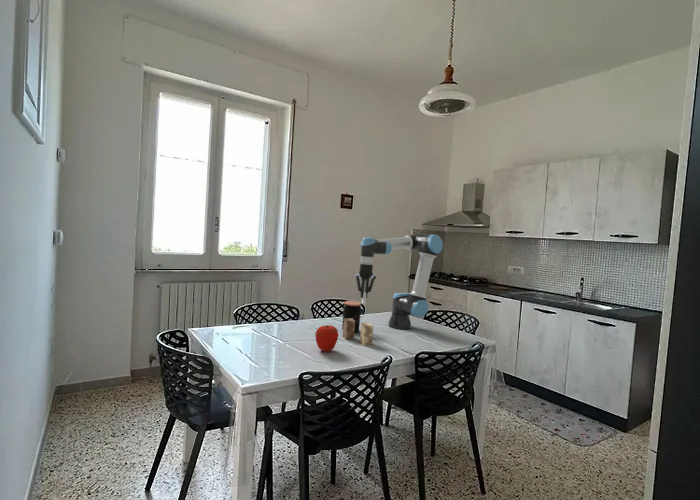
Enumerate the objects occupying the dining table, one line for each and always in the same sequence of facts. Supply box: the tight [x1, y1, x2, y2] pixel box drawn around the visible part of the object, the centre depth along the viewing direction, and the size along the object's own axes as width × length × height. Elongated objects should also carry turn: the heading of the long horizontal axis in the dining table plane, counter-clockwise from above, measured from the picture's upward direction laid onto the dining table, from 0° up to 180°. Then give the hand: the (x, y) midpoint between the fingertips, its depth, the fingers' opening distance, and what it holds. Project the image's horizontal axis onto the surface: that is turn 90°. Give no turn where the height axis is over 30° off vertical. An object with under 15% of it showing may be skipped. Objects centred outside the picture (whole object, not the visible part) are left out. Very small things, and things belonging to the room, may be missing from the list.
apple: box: [315, 324, 339, 353], centre depth 205 cm, size 12×12×14 cm
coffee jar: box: [341, 300, 362, 334], centre depth 246 cm, size 11×11×18 cm
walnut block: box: [342, 318, 355, 341], centre depth 231 cm, size 5×6×11 cm
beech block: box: [359, 322, 374, 346], centre depth 223 cm, size 5×6×11 cm
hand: (363, 303), depth 232 cm, fingers closed
